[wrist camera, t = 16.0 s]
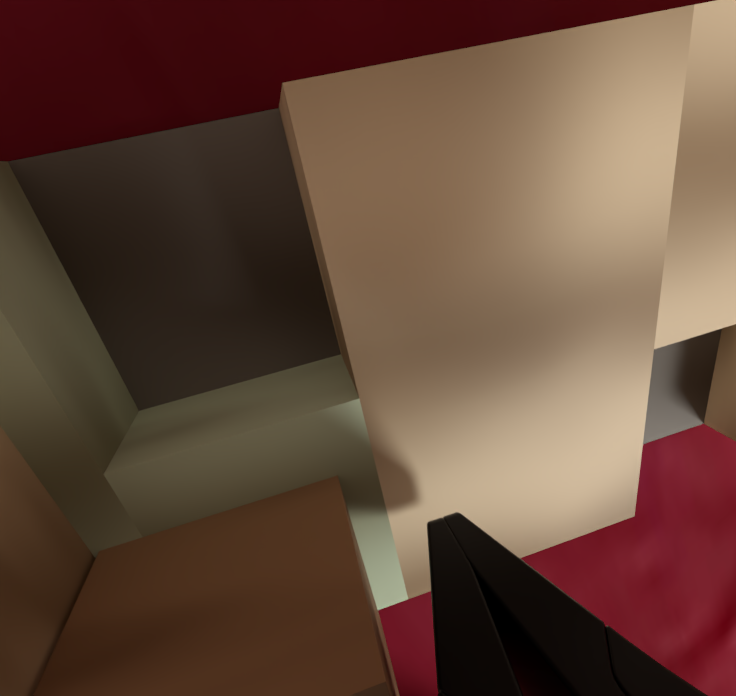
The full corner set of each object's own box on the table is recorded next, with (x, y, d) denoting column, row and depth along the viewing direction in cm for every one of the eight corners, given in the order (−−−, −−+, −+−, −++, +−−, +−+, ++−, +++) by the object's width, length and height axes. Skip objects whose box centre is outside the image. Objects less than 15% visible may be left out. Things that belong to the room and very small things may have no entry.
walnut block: (379, 615, 11) (433, 830, 7) (191, 683, 10) (150, 957, 7) (337, 475, 9) (385, 681, 5) (98, 551, 8) (-35, 844, 5)
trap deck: (832, 374, 15) (1100, 467, 10) (166, 601, 12) (96, 887, 7) (968, -28, 10) (1611, -217, 5) (-105, 185, 7) (-914, 199, 2)
